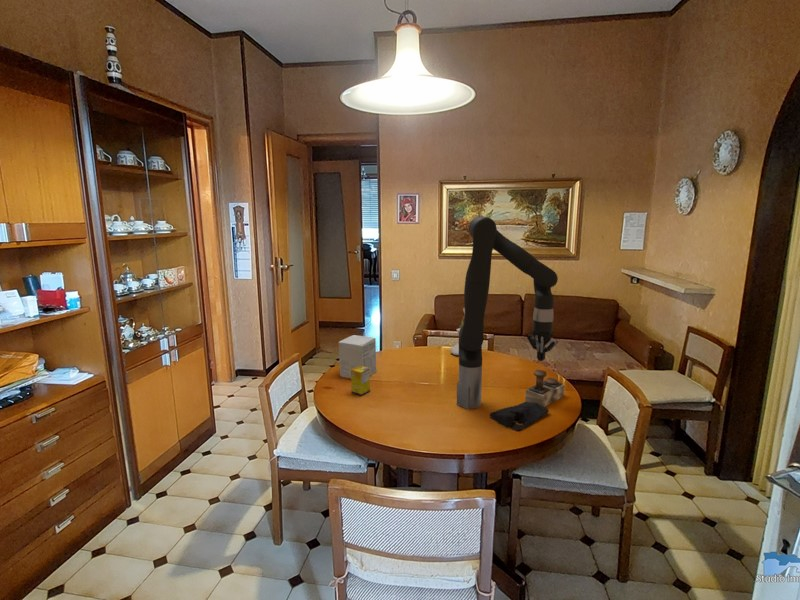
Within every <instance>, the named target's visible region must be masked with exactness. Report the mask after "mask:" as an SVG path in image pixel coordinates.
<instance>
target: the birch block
mask: <svg viewBox="0 0 800 600" xmlns="http://www.w3.org/2000/svg"><path fill="white" fill-rule="evenodd" d="M565 388H566V387H565V384H563V383H562V382H560V381H558V384H557V385H549V384H547V383H546V380H543V388H537V387H536V384H535V385H533V386H531V387H529V388H527V389H525V400H524V402H535V403H538V404H540V405H541V406H544V407H545V408H546V406H549V405H551V404H552V403H554V402H556V401H558V400H559V399H562V398H563V397H565Z"/></svg>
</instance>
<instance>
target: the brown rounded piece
mask: <svg viewBox="0 0 800 600" xmlns="http://www.w3.org/2000/svg"><path fill="white" fill-rule="evenodd" d="M547 374H548V373H547V371H546V370H543V369H535V370H534V371H533V375H534V377H535V379H536V380H535V385H536V387H537V388H543V381H545V380H544V378H545V377H547Z"/></svg>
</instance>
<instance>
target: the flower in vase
mask: <svg viewBox="0 0 800 600" xmlns="http://www.w3.org/2000/svg"><path fill="white" fill-rule="evenodd" d="M462 311H463V313H464V316H463V317H462V319H461V323H460V324H459V326H458V327H459V328H456V331H457V334H458V335H459V331H460V329H461V328H462V326H463V324H464V318H465V307H463V308H462ZM449 351H450V353H451V355H452V354H453V355H455V356H459V341H458V342H457V343H456V344H455V345H453V346H452V347H451V348H450V349H449Z"/></svg>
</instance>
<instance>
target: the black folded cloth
mask: <svg viewBox="0 0 800 600" xmlns="http://www.w3.org/2000/svg"><path fill="white" fill-rule="evenodd" d="M549 411H550V409H549V408H547V407H546V406H545V407H544V406H541V405H540V404H538V403H535V402H527V401H524V402H522V403H519V404H516V405H513V406H507V407H504V408H501V409H498V410H496V411H492V412H490V414H489V416H490V417H489V418H490V419H491V420H494V421H496V423H498V424H499V425H501V426H503V427H504V428H507V429H511V430H514V431H516V432H520V431H521V430H522V429H525V428H528V427H530V426H531V425H532V424H534V423H535V422H536V421H539V419H540V418H543V417H544V416H545V415H546V414H548V413H549Z"/></svg>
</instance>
